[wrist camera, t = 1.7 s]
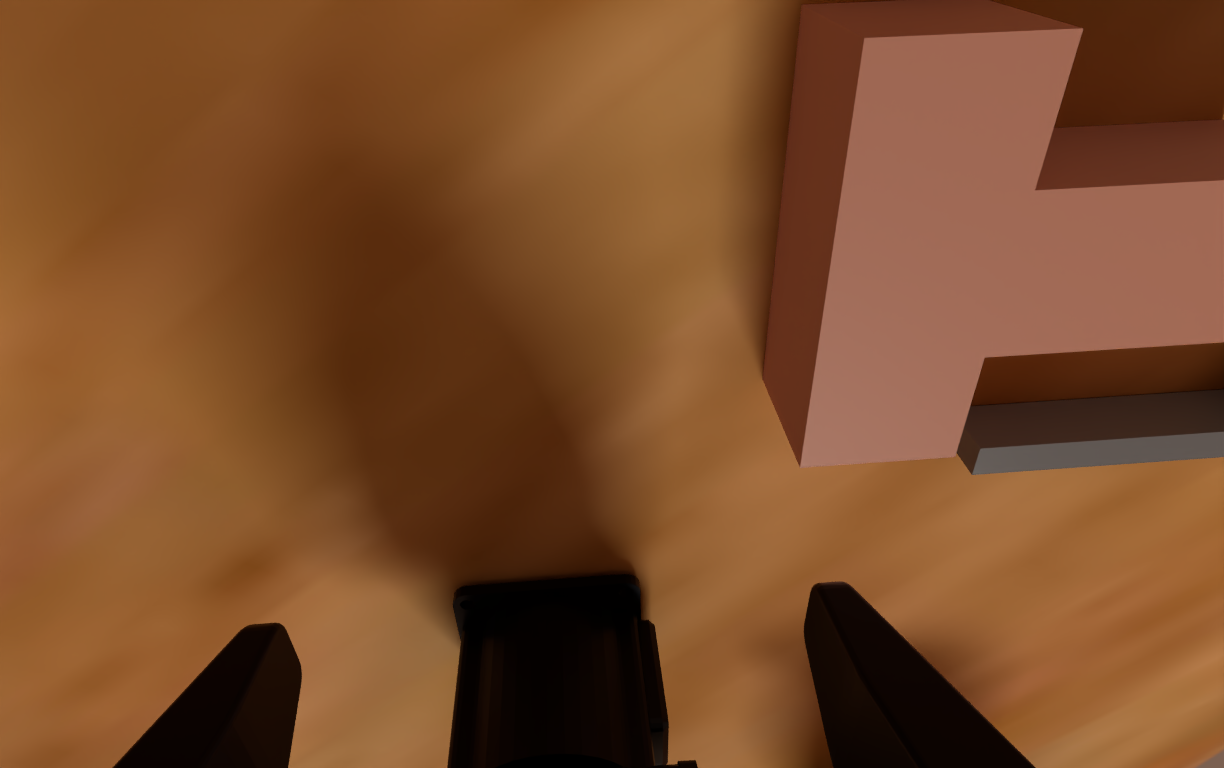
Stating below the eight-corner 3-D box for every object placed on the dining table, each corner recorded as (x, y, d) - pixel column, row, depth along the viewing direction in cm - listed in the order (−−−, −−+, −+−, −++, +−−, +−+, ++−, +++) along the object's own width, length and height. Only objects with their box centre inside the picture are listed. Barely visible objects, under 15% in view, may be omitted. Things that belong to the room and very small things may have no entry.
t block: (762, 378, 22) (799, 467, 19) (801, 4, 17) (864, 38, 13) (1122, 356, 23) (1219, 438, 19) (1278, -16, 17) (1452, 11, 14)
